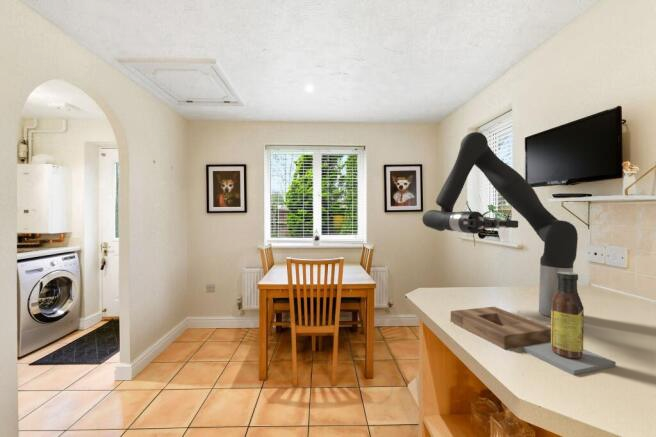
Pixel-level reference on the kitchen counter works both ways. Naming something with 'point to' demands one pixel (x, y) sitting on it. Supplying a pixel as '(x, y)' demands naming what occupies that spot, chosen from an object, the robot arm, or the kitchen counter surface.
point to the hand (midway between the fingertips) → (506, 224)
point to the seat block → (501, 327)
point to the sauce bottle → (567, 317)
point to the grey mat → (569, 359)
